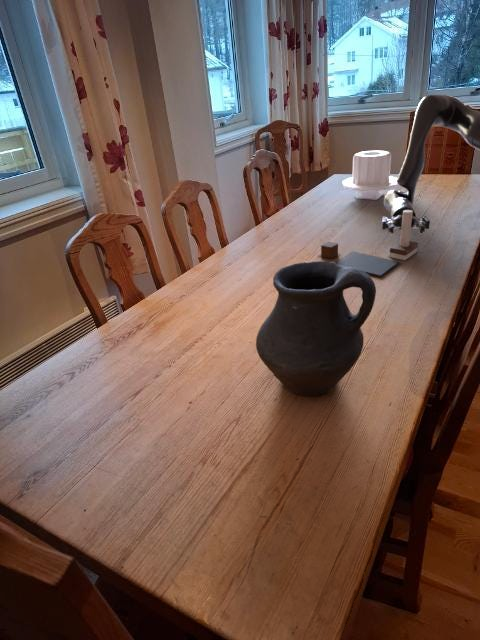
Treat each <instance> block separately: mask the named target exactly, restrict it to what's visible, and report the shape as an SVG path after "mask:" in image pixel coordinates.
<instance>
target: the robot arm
mask: <svg viewBox="0 0 480 640" xmlns="http://www.w3.org/2000/svg"><path fill="white" fill-rule="evenodd" d="M414 115H415V116H414V120H413V125H412V129H411V132H410V138H409V142H408V147H407V151H406V155H405V158H404V160H403V163H402V165H401V168H400V171H399V174H398V175H397V178H398V179H397V183H398V184H399V185H398V186H400V187H402V188H403V189H406V191H407V192H405V191H402V190H401V191H400V190H396V189H390V190H389V191H387V192H386V194H385V195H384V199H383V206H384V208H385V210H386V211H388V213H390V218H388V217H387V216H382V223H381V230H383V231H384V230H388V233H390V234H394V230H397V229H398V230H401V227H402V217H403V211H404V210H412V211H413V214H412V223H411V230H418V231H419V234H423V233H425V232H426V230H430V225H431V220H430V218H429V216H427V215H423V216H422V218H420V217H418V216H417V214H416V211H415V209H414V205H415V194H416V189H417V185H418V182H419V180H420V177H421V175H422V173H423V170H424V167H425V163H426V152H425V151H426V142H427V141H426V140H427V138H428V135H429V133H430V131H431V129H432V127H439V128H440V127H442V128H446V129H449V130H451V131H454V132H457V133H458V134H459V135H461V137H462V138H463V140H464V141H465V142H466V143H467V144H468V146H470V147H472V148H473V149H476V150H478V151H480V111H479V110H475V109H473V108H470V107H468V106H467V105H465V104H464V103H462V102H460V101H458V100H457V99H455V98H454V97H452V96H449V95H447V94H446V95H445V94H428V95H425V96H424V97H423V98H422V99H421V100H420V102H419V103H418V106H417V108H416V111H415V114H414Z"/></svg>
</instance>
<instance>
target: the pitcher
mask: <svg viewBox="0 0 480 640" xmlns="http://www.w3.org/2000/svg"><path fill="white" fill-rule="evenodd" d="M336 263H337V262H334V261H323V260H322V261H320V260H319V261H318V260H317V261H309V262H305V261H304V262H298V263H292V264H290V265H286V266H283V267H281V268H280V269H278V270H276V272H275V273H274V275H273V278H272V281H273V282H272V284H273V285H272V286H273V287H274V289H275V290H276V291H277V294H278V296H277V299H276V302H275V304H274V306H273V309H272V310H271V311H270V313H269V315H268V316H267V317H266V319H265V320H264V321H263V323H262V324H261V325H260V327H259V330H258V331H257V334H256V338H255V341H256V342H255V348H256V351H257V354H258V356H259V358H260V360H261V361H262V363H263V364H264V366H265V367H267V369H268V370H269V371H270V372H271V373H272V374H273V375H274V377H275V378H276V379H277V380H278V381H279V382H280V383H281V384H282V386H283V387H284V388H285V389H286V390H288V391H290V392H292V393H293V394H295V395H299V396H303V397H321V396H324V395H328V394H329V393H330V392H331V391H332V390H333V388H335V387H336V385H337V384H338V383H339V382H340V381H341V380H342V379H343V378H344V377H345V376H346V375H348V373H349V372H350V371H351V370H352V368H353V367H354V366H355V365H356V363H357V362H358V360H359V358H360V357H361V354H362V351H363V347H364V338H365V337H364V333H363V331H362V326H363V325H364V323H365V322H366V321H367V319H368V318H369V316H370V314H371V312H372V310H373V308H374V305H375V300H376V296H377V287H376V284H375V282H374V280H373V278H371V275H370V274H367V273H366V272H364V271H363V270H360V269H357V268H353V267H346V266H342V265H339V264H336ZM350 288H357V289H360V290H361V298H362V303H361V304H360V306H359V310H358V312H356V314H353V312H351V310H350V308H349V306H348V303H347V302H346V300H345V299H346V298H345V297H344V291H345V290H347V289H350Z"/></svg>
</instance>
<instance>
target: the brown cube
mask: <svg viewBox="0 0 480 640" xmlns="http://www.w3.org/2000/svg"><path fill="white" fill-rule="evenodd" d="M337 256H339V243H337V242H332V241H326V242H324V243H322V244H320V257H321V258H326V259H329V260H332V259H334V258H335V257H337Z"/></svg>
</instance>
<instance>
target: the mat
mask: <svg viewBox="0 0 480 640" xmlns="http://www.w3.org/2000/svg"><path fill="white" fill-rule="evenodd" d="M335 263H336V264H339V265H342V266H346V267H353V268H357V269H360V270H363V271H364V272H366V273H367V274H368V275H369V276H375V277H378V278H381V277H383V276H384V275H386V274H387V273H389V272H390V271H391V270H393V269H394V268H395V267H397V266H398V265H399V264H400V261H399V260H398V261H397V260H393V259H388V258H384V257H379V256H374V255H371V254H370V255H369V254H365V253H361V252H355V251H352V252H351V253H350V254H348V255H346V256H345V257H343V258H342V259H340V260H338V261H336V262H335Z"/></svg>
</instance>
